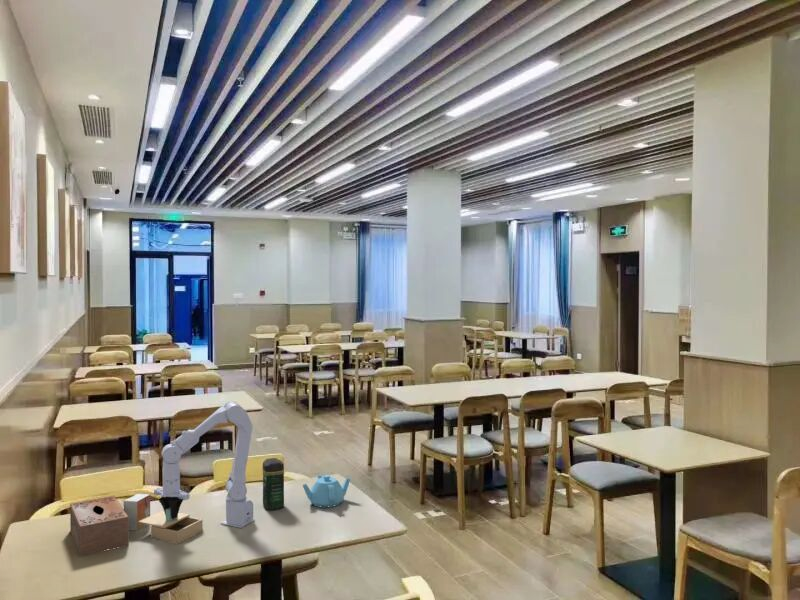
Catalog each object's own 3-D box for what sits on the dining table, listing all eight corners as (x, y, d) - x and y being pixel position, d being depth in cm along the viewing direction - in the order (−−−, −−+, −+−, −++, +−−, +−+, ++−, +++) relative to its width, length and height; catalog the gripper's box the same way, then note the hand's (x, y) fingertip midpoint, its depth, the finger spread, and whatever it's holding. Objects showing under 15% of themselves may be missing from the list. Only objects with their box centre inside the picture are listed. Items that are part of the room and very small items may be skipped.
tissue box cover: (70, 531, 213) (70, 503, 213) (114, 522, 222) (114, 495, 222) (80, 557, 192) (80, 526, 192) (128, 546, 201) (128, 516, 201)
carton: (202, 530, 213) (202, 519, 213) (177, 543, 202) (177, 532, 202) (176, 525, 218) (176, 514, 218) (151, 538, 207) (150, 526, 207)
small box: (137, 531, 213) (136, 501, 213) (123, 529, 214) (122, 500, 214) (150, 522, 221) (150, 494, 221) (137, 521, 222) (137, 493, 222)
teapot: (300, 506, 237) (299, 479, 237) (318, 494, 251) (318, 468, 251) (334, 511, 231) (334, 483, 231) (351, 498, 245) (351, 472, 245)
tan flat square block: (189, 516, 215) (189, 503, 215) (164, 528, 204) (164, 515, 204) (164, 511, 220) (164, 499, 220) (138, 523, 209) (138, 510, 209)
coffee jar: (286, 508, 234) (286, 461, 234) (266, 511, 231) (265, 464, 230) (280, 500, 243) (280, 455, 242) (261, 503, 239) (260, 457, 239)
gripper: (147, 479, 210) (147, 518, 210) (178, 485, 204) (179, 524, 204) (162, 474, 216) (162, 511, 216) (193, 479, 210) (193, 517, 211)
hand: (171, 517), depth 211 cm, fingers closed on tan flat square block, 2 cm apart
